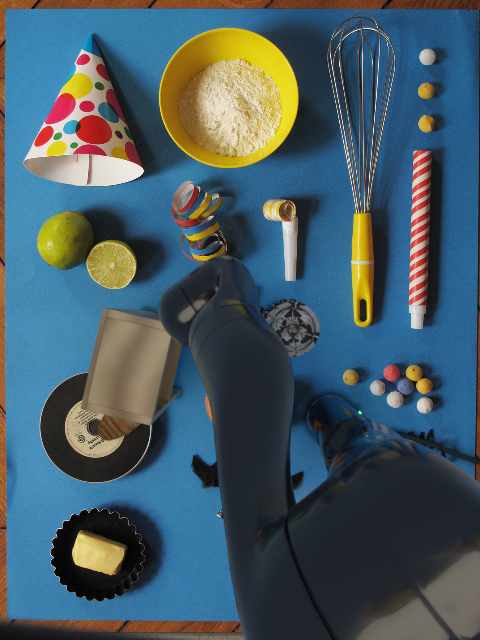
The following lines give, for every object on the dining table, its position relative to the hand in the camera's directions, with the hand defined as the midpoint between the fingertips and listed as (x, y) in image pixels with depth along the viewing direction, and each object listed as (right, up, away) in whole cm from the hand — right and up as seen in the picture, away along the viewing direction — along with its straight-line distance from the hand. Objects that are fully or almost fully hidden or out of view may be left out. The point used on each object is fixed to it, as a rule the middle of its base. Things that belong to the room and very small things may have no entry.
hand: (225, 306), depth 77 cm
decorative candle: (+11, -4, +8) cm, 14 cm away
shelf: (-13, -9, +8) cm, 18 cm away
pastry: (-21, -23, +9) cm, 32 cm away
